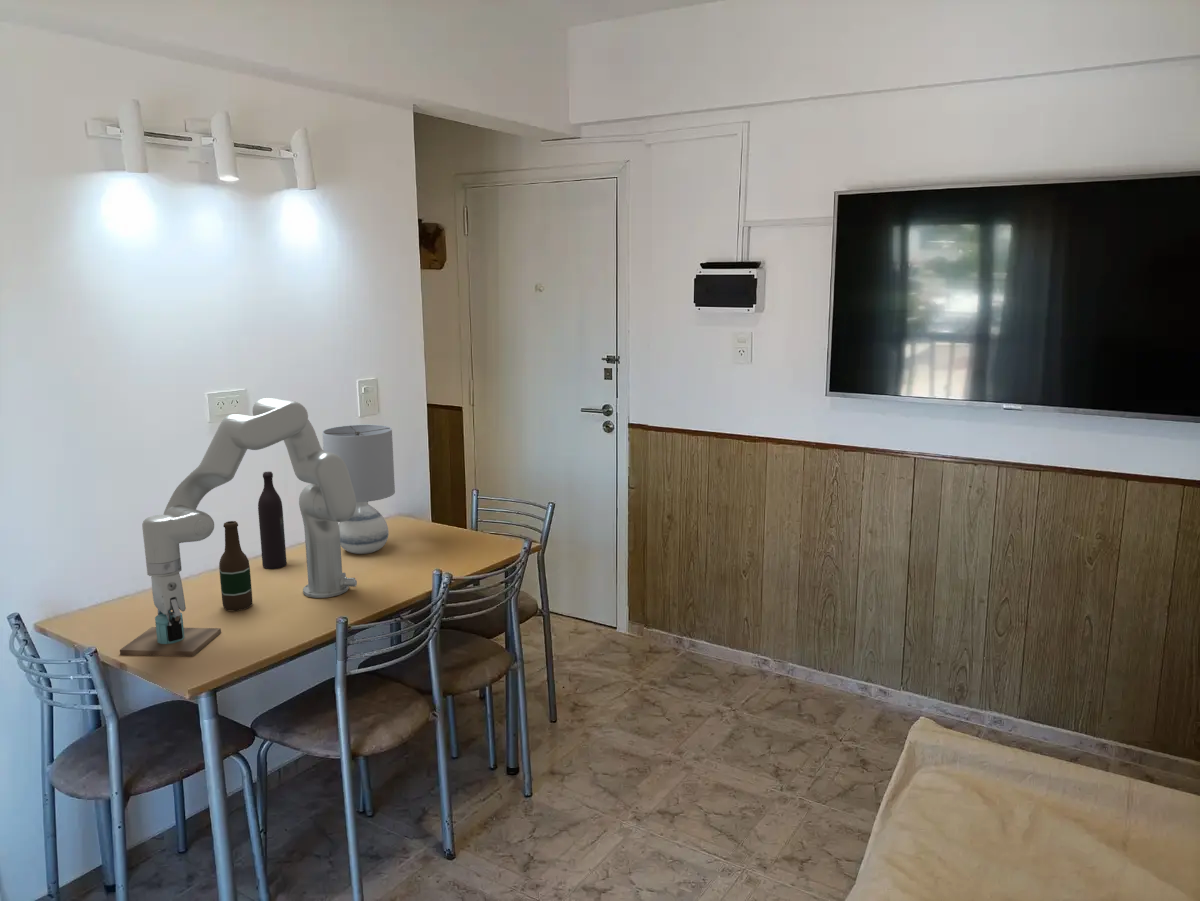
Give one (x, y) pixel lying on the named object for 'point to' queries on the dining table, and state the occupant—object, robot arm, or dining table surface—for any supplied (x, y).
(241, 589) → the beer bottle
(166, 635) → the cap
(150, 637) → the post board
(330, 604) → the dining table surface
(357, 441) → the lamp
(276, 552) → the wine bottle
